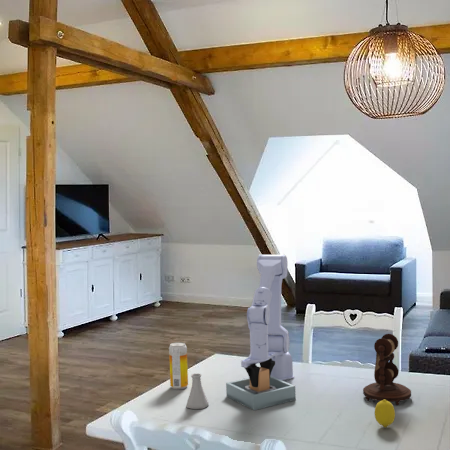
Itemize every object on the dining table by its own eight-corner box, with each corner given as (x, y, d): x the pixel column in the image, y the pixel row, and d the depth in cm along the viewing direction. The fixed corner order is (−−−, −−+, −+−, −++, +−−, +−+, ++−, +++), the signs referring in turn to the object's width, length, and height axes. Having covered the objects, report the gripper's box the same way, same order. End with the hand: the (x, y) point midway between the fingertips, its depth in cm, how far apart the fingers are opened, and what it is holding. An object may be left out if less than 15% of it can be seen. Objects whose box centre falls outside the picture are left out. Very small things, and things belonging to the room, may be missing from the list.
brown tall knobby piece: (371, 388, 216) (370, 329, 215) (416, 394, 209) (415, 333, 207) (356, 402, 204) (355, 339, 202) (403, 409, 196) (403, 343, 195)
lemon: (372, 424, 185) (371, 396, 184) (391, 423, 185) (390, 395, 185) (378, 431, 180) (378, 403, 179) (398, 430, 180) (397, 402, 179)
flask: (212, 403, 207) (211, 372, 206) (204, 410, 200) (202, 379, 200) (191, 401, 210) (189, 370, 209) (182, 408, 203) (181, 377, 202)
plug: (259, 387, 213) (259, 366, 213) (269, 390, 210) (269, 369, 210) (250, 390, 210) (249, 369, 210) (260, 393, 207) (259, 372, 207)
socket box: (266, 387, 221) (266, 374, 221) (295, 399, 208) (295, 385, 207) (226, 396, 213) (226, 382, 213) (253, 410, 199) (253, 395, 199)
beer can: (189, 384, 227) (187, 341, 226) (186, 390, 221) (185, 346, 220) (172, 384, 227) (170, 342, 226) (169, 389, 221) (167, 346, 220)
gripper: (265, 336, 217) (266, 377, 218) (234, 345, 207) (235, 387, 208) (281, 340, 212) (282, 381, 213) (249, 349, 202) (251, 392, 203)
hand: (260, 384), depth 210 cm, fingers closed on plug, 4 cm apart
